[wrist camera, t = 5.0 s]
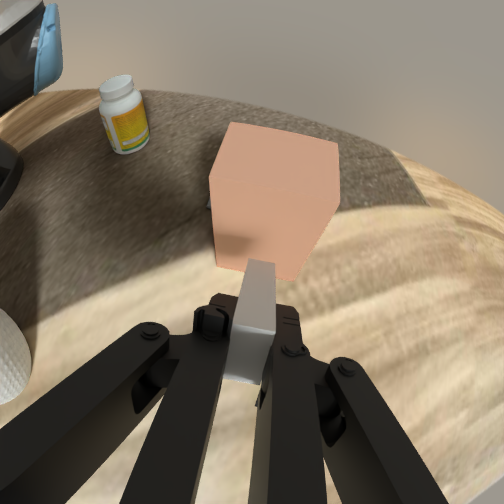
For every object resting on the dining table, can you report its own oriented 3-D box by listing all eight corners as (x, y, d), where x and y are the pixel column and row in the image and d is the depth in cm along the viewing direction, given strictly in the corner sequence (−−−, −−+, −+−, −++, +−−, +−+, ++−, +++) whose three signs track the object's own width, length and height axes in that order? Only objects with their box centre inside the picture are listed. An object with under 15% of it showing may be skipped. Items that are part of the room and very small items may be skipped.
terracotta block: (293, 281, 24) (339, 203, 14) (217, 266, 24) (208, 176, 14) (298, 234, 27) (337, 143, 16) (229, 220, 27) (230, 121, 16)
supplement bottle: (105, 153, 30) (83, 95, 21) (126, 127, 32) (111, 72, 24) (137, 158, 30) (118, 95, 21) (157, 131, 32) (146, 71, 24)
